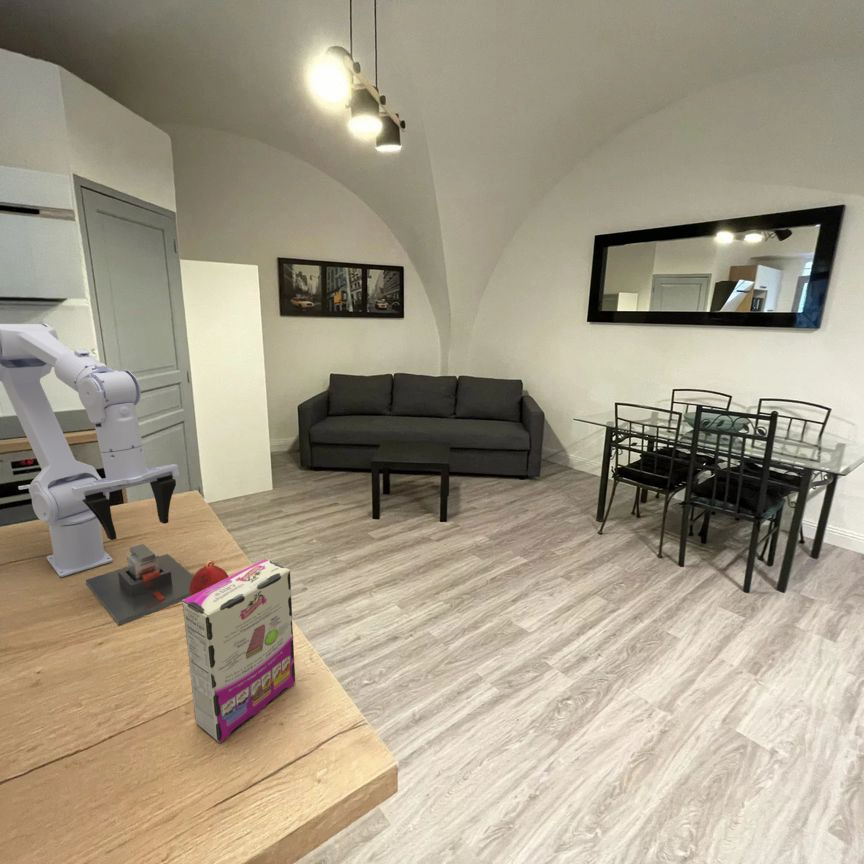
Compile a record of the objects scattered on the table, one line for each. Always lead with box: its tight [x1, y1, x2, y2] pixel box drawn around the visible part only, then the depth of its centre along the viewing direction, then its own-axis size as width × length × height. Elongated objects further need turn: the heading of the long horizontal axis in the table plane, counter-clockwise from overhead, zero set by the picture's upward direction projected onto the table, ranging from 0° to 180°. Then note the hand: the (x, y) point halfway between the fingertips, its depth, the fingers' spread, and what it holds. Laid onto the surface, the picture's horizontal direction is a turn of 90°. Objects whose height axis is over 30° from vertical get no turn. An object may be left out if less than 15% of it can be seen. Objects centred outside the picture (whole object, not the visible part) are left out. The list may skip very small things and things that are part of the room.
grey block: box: [126, 543, 161, 581], centre depth 80 cm, size 5×4×6 cm
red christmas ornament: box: [190, 560, 229, 596], centre depth 76 cm, size 6×6×8 cm
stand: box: [85, 553, 194, 626], centre depth 81 cm, size 16×13×4 cm
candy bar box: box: [181, 558, 296, 744], centre depth 56 cm, size 11×5×16 cm, turn 148°
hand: (139, 530), depth 78 cm, fingers open, 7 cm apart
